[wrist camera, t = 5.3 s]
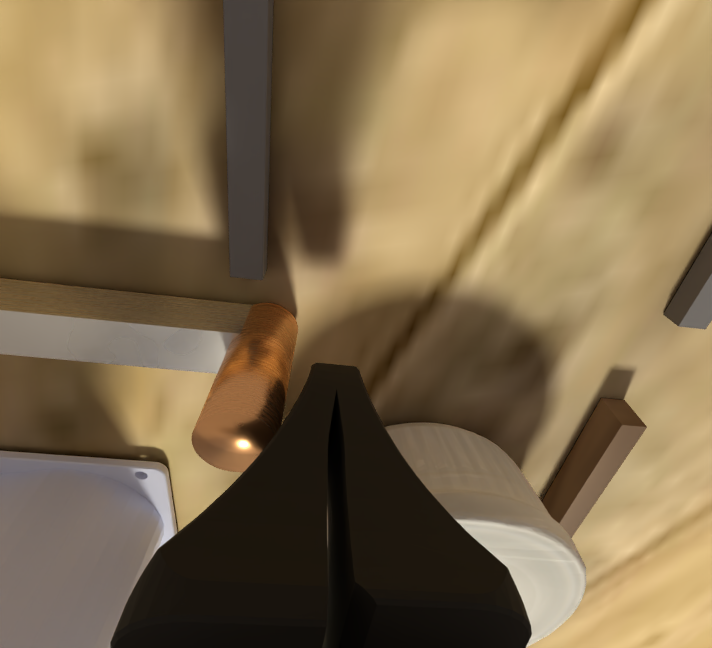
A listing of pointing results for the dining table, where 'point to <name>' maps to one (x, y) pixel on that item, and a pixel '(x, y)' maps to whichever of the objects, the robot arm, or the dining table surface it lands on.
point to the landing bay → (252, 158)
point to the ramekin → (498, 516)
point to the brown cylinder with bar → (168, 351)
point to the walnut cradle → (593, 462)
